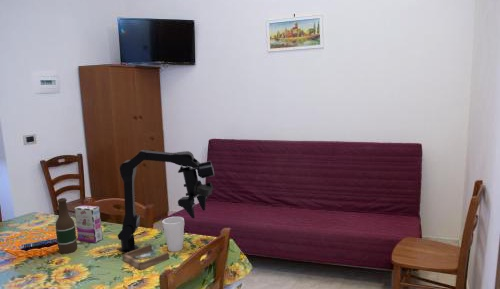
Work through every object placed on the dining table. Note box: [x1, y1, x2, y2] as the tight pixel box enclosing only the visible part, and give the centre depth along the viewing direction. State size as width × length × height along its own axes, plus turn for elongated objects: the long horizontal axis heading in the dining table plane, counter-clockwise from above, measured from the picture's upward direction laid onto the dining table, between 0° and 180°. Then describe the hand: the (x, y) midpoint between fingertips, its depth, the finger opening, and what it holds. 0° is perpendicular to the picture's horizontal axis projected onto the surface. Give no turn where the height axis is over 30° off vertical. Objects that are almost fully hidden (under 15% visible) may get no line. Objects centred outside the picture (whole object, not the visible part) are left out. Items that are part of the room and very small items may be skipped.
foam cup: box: [161, 216, 185, 252], centre depth 171 cm, size 10×9×13 cm
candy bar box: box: [74, 204, 104, 244], centre depth 186 cm, size 11×5×16 cm, turn 68°
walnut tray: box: [121, 243, 170, 271], centre depth 163 cm, size 14×13×2 cm
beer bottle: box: [55, 197, 78, 255], centre depth 174 cm, size 8×8×24 cm
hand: (198, 214), depth 173 cm, fingers open, 9 cm apart
